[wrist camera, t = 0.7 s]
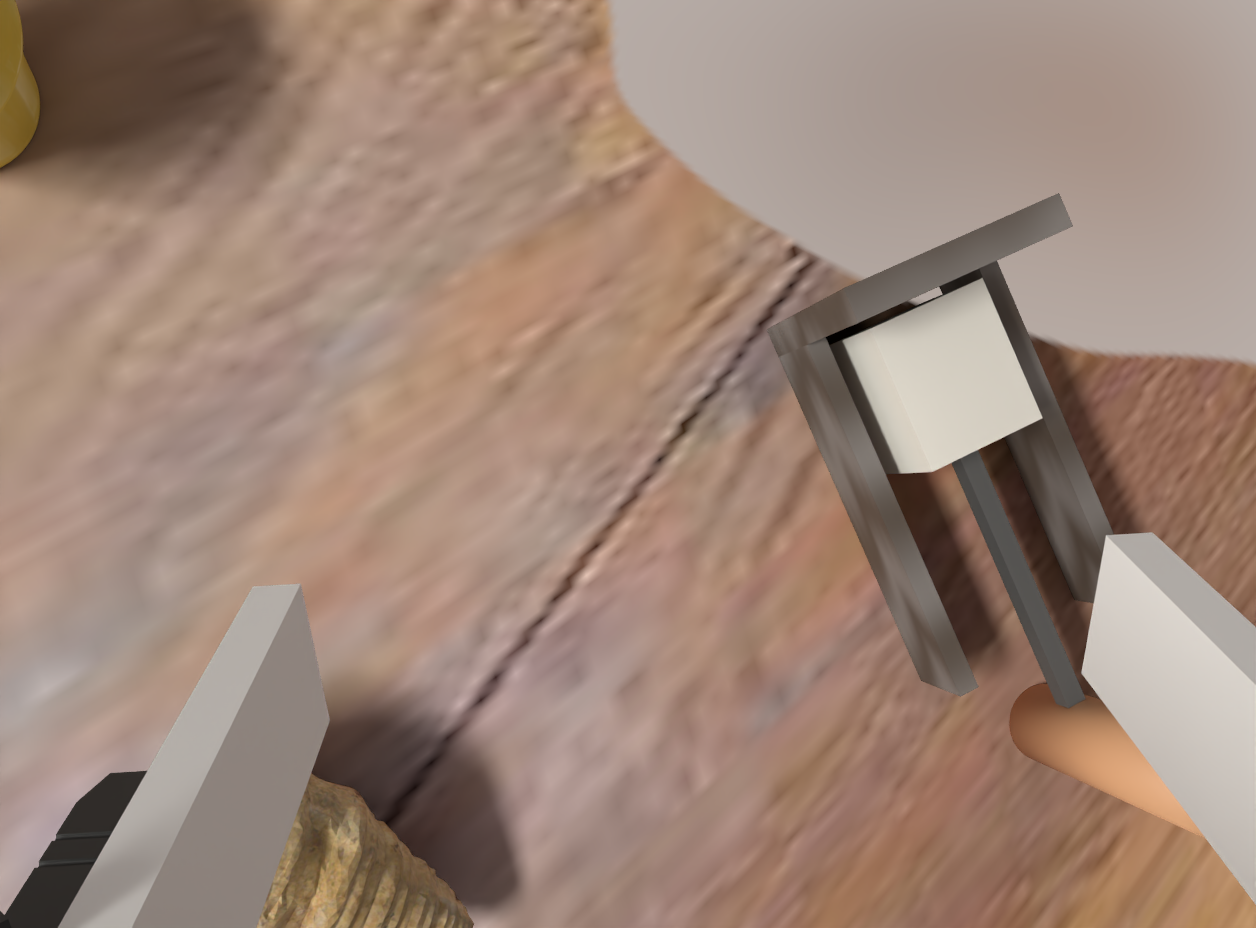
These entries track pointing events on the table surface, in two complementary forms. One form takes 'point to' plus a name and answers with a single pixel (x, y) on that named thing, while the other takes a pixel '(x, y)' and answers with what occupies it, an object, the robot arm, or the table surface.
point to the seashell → (353, 872)
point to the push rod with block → (990, 509)
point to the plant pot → (15, 87)
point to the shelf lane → (1035, 448)
